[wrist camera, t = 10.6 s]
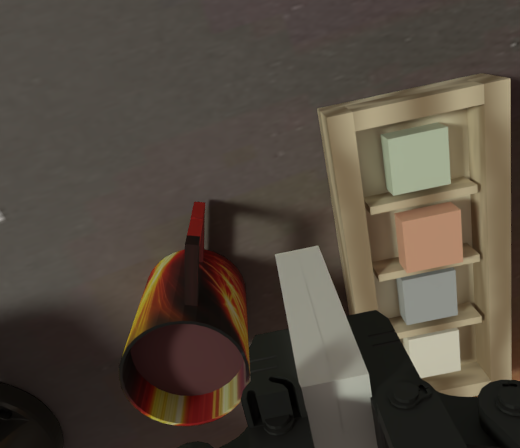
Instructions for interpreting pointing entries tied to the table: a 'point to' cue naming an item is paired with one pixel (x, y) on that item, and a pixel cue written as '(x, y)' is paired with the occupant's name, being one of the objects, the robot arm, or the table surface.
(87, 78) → the table surface
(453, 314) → the key slate
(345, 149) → the wooden compartment tray
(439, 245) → the key terracotta
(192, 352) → the mug
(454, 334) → the key ivory
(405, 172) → the key sage
